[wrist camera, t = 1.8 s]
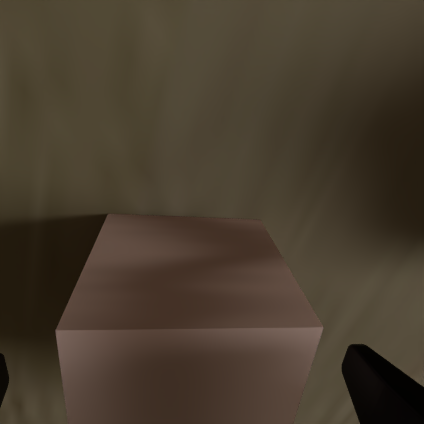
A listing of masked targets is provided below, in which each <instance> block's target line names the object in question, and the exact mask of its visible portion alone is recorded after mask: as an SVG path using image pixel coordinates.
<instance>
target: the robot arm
mask: <svg viewBox="0 0 424 424" xmlns="http://www.w3.org/2000/svg"><path fill="white" fill-rule="evenodd" d="M342 374H343V377H344V380H345V382H346V385H347V388H348V391H349V394H350V397H351V399H352V402H353V405H354V408H355V411H356V414H357V416H358V419H359V422H360V424H424V387H423V386H421V385H420V384H419V383H417V382H416V381H415V380H413V379H412V378H410V377H409V376H408V375H406V374H405V373H404V372H402V371H401V370H400V369H398V368H397V367H395V366H394V365H393V364H391V363H390V362H389V361H387V360H386V359H384V358H383V357H382V356H380V355H379V354H378V353H376V352H375V351H374V350H372V349H371V348H369V347H368V346H366V345H364V344H351V345H350V346H348V349H347V351H346V354H345V357H344V360H343V363H342ZM8 383H9V374H8V370H7V366H6V362H5V358H4V355H3V354H2V353H0V407H1V404H2V401H3V399H4V396H5V393H6V390H7V387H8Z"/></svg>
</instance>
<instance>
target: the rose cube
mask: <svg viewBox="0 0 424 424" xmlns="http://www.w3.org/2000/svg"><path fill="white" fill-rule="evenodd" d="M323 328H324V327H323V326H322V324H321V322H320V321H319V319H318V317H317V315H316V314H315V312H314V310H313V309H312V307H311V305H310V303H309V302H308V300H307V298H306V297H305V295H304V293H303V292H302V290H301V288H300V286H299V285H298V283H297V281H296V280H295V278H294V276H293V275H292V273H291V271H290V269H289V268H288V266H287V264H286V263H285V261H284V259H283V257H282V256H281V254H280V252H279V251H278V249H277V247H276V246H275V244H274V242H273V240H272V239H271V237H270V235H269V234H268V232H267V230H266V229H265V227H264V225H263V223H262V222H261V220H257V219H231V218H205V217H179V216H154V215H128V214H108V215H107V217H106V219H105V222H104V224H103V226H102V228H101V231H100V233H99V235H98V237H97V239H96V242H95V244H94V246H93V248H92V250H91V253H90V255H89V257H88V259H87V262H86V264H85V266H84V268H83V270H82V273H81V275H80V277H79V279H78V282H77V284H76V286H75V288H74V290H73V293H72V295H71V297H70V299H69V301H68V304H67V306H66V308H65V310H64V313H63V315H62V317H61V319H60V321H59V324H58V326H57V328H56V330H55V331H56V339H57V346H58V353H59V361H60V368H61V375H62V382H63V390H64V397H65V404H66V412H67V419H68V424H293V423H294V420H295V417H296V413H297V410H298V407H299V404H300V401H301V398H302V394H303V391H304V388H305V385H306V382H307V378H308V375H309V372H310V369H311V366H312V363H313V359H314V356H315V353H316V350H317V347H318V343H319V340H320V337H321V334H322V331H323Z"/></svg>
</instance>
